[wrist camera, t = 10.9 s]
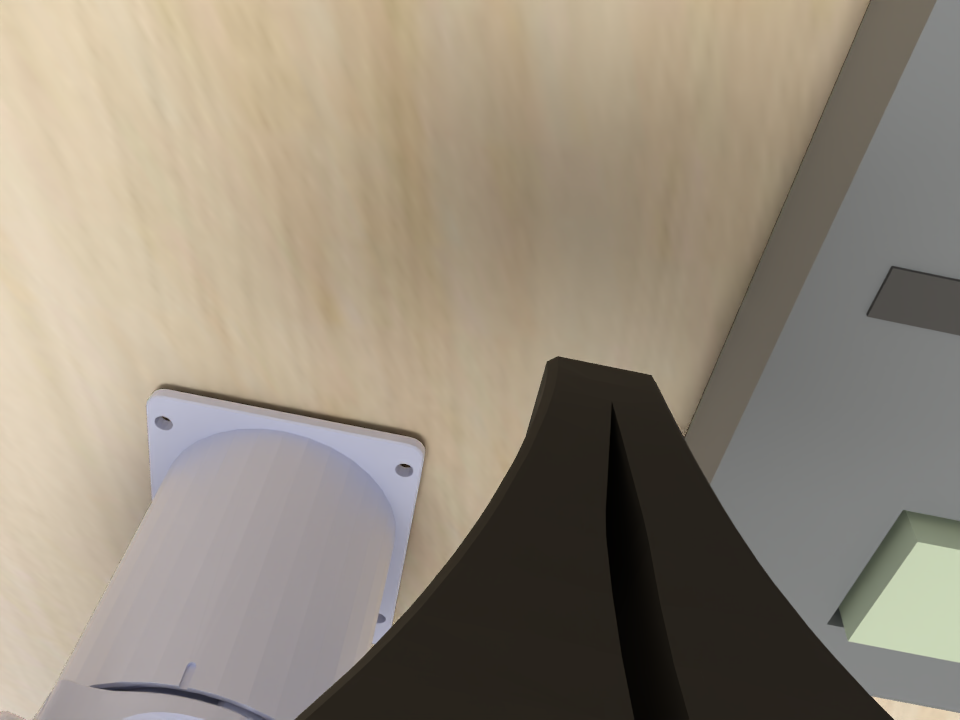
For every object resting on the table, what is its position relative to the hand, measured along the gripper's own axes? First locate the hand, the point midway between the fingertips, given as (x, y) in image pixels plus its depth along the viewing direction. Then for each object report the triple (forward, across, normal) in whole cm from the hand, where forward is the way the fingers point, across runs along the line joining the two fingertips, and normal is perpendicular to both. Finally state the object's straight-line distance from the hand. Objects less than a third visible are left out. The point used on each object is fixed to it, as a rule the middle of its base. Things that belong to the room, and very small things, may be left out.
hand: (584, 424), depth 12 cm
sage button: (+10, -12, +9) cm, 18 cm away
